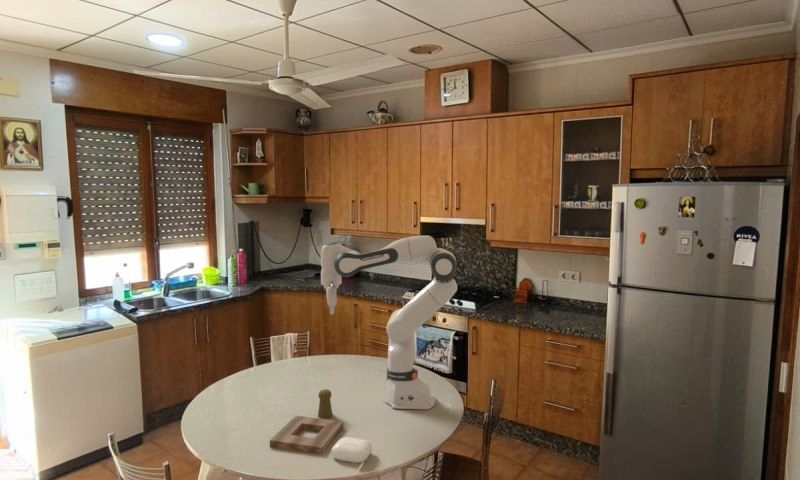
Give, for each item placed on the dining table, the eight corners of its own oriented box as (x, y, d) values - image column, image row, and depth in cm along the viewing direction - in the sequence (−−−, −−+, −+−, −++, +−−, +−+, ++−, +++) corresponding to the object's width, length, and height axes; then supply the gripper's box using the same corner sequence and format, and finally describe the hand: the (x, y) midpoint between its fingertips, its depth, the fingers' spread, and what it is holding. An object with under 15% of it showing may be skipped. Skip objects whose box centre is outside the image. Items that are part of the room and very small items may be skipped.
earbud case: (340, 446, 171) (340, 432, 170) (374, 452, 167) (374, 438, 166) (328, 461, 161) (328, 446, 160) (364, 468, 157) (364, 452, 157)
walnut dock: (343, 429, 183) (343, 421, 183) (321, 455, 164) (321, 447, 164) (296, 422, 189) (295, 415, 188) (269, 448, 169) (269, 439, 169)
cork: (333, 413, 197) (333, 387, 196) (331, 420, 191) (331, 393, 190) (318, 413, 197) (318, 387, 196) (316, 420, 191) (316, 393, 190)
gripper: (339, 283, 196) (340, 316, 197) (337, 276, 216) (338, 306, 217) (324, 284, 195) (324, 317, 196) (323, 276, 215) (324, 306, 216)
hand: (331, 311), depth 207 cm, fingers open, 8 cm apart
